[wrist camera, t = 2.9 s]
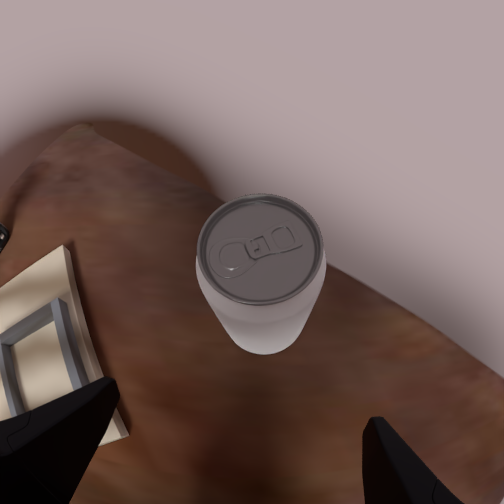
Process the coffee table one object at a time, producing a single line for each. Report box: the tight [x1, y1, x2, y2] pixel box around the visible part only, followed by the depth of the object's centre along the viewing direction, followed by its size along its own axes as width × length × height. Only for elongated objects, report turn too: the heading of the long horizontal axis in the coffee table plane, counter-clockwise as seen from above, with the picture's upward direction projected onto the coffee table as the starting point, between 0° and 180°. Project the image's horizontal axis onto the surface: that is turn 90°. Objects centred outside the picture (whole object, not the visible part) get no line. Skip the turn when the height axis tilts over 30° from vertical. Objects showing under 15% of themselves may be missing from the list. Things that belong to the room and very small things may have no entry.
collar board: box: [0, 245, 129, 446], centre depth 20 cm, size 20×16×3 cm
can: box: [196, 194, 326, 354], centre depth 18 cm, size 6×6×12 cm
